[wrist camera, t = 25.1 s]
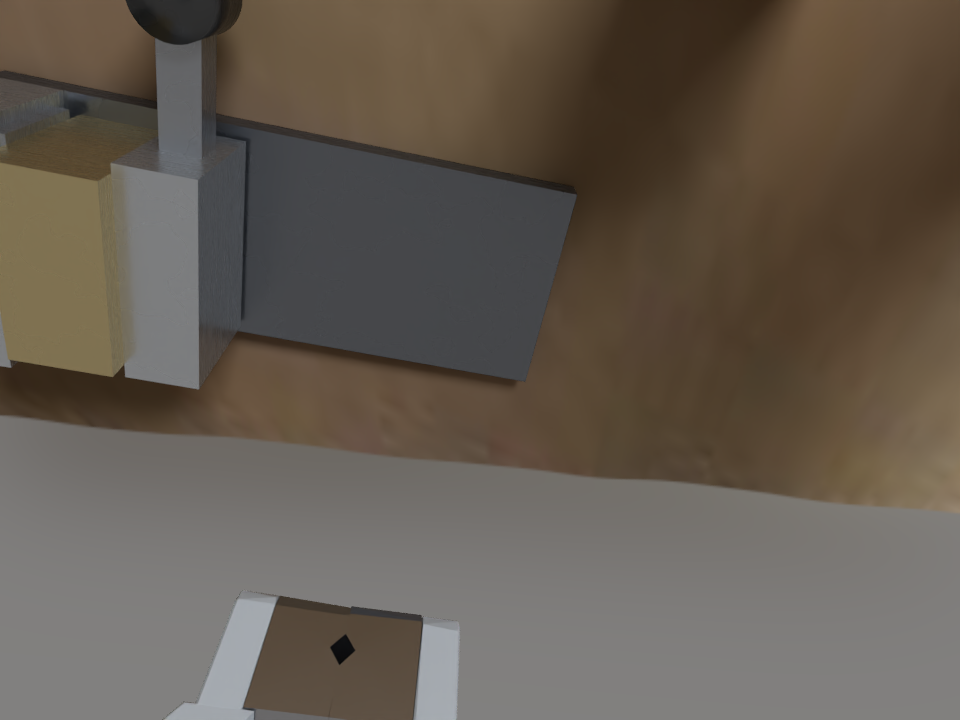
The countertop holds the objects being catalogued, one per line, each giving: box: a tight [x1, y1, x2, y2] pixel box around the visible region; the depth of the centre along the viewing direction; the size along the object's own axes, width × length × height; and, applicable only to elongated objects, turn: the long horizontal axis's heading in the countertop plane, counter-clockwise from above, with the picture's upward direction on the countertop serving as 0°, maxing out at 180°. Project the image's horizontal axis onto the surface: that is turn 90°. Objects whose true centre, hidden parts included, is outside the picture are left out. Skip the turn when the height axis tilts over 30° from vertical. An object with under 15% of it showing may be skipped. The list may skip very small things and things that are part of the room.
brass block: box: [0, 115, 158, 377], centre depth 28 cm, size 4×8×7 cm, turn 169°
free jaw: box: [110, 0, 246, 389], centre depth 27 cm, size 3×16×6 cm, turn 169°
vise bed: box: [0, 71, 577, 382], centre depth 30 cm, size 25×10×7 cm, turn 79°
